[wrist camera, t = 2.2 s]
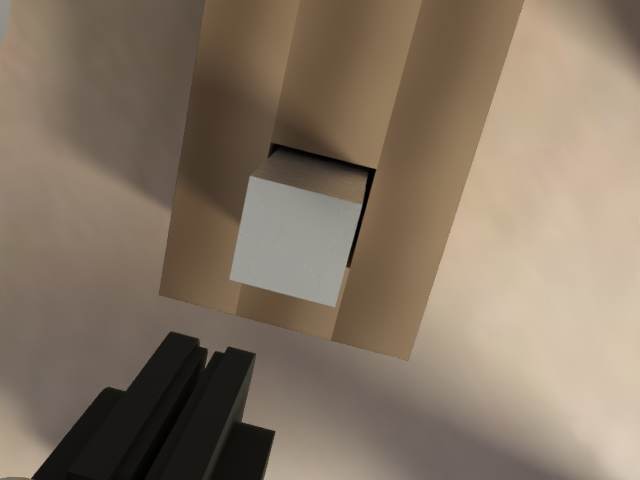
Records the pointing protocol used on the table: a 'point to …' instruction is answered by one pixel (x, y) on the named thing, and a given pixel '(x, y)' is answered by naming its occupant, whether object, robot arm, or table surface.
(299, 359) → the table surface
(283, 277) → the pin
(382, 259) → the walnut block
